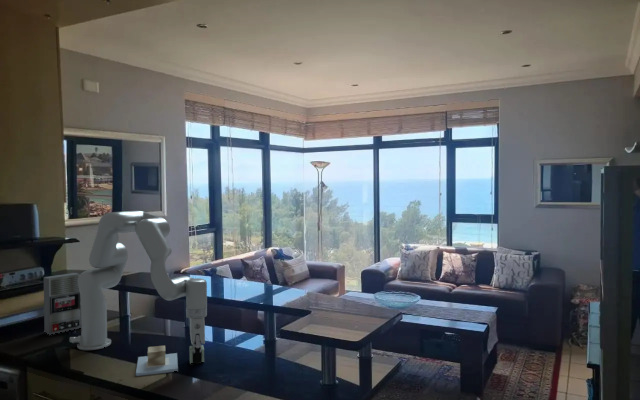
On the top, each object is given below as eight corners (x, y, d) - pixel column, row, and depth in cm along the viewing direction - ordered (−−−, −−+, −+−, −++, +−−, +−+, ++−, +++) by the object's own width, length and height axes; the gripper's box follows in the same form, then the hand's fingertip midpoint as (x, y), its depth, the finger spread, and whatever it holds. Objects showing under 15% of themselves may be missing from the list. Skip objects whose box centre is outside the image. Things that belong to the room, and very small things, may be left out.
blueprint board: (135, 376, 165) (135, 373, 165) (138, 359, 180) (138, 356, 180) (178, 371, 169) (177, 368, 169) (177, 355, 185) (177, 352, 184)
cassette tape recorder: (49, 336, 207) (48, 279, 206) (44, 333, 211) (43, 277, 210) (82, 328, 218) (81, 274, 217) (76, 326, 222) (75, 272, 221)
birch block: (147, 366, 171) (147, 352, 171) (148, 360, 177) (148, 347, 176) (165, 364, 173) (165, 350, 173) (165, 358, 178) (165, 345, 178)
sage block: (190, 364, 176) (190, 350, 176) (189, 359, 181) (189, 346, 180) (204, 362, 177) (204, 349, 177) (203, 357, 182) (203, 344, 182)
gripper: (208, 317, 171) (208, 367, 172) (205, 305, 188) (205, 351, 188) (187, 319, 169) (187, 369, 170) (185, 307, 185) (185, 353, 186)
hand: (196, 359), depth 179 cm, fingers closed on sage block, 4 cm apart
